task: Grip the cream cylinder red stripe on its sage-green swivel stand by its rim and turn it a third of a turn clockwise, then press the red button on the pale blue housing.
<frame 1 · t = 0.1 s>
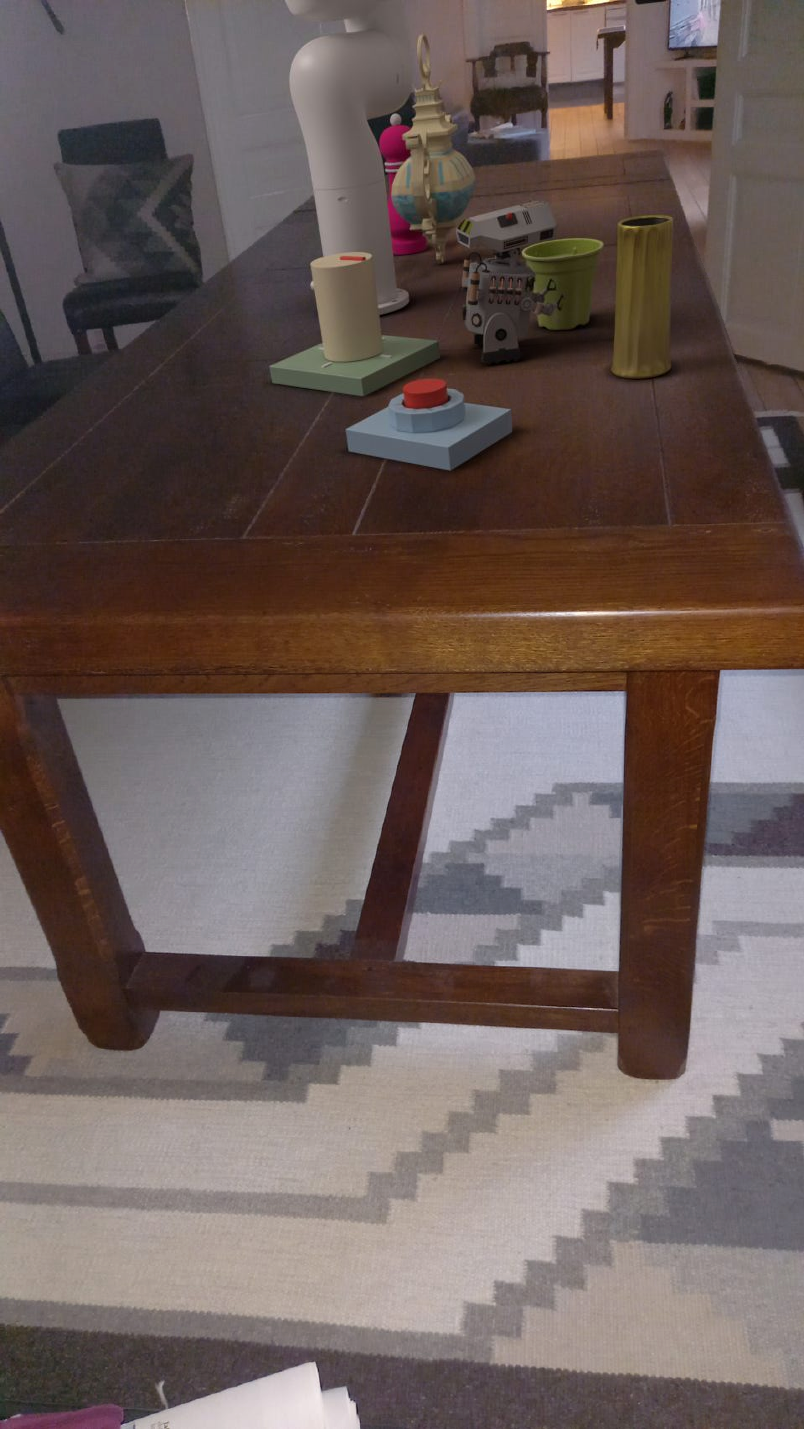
figurine: (514, 352, 113), on the table
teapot: (441, 265, 155), on the table
button box: (430, 442, 93), on the table
swivel stand: (356, 370, 114), on the table
button: (425, 395, 90), point 4 cm above the table, slide at 0.1 cm
cream cylinder red stripe: (347, 306, 110), point 7 cm above the table, hinge at 0.0°
vase: (640, 372, 103), on the table
plant pot: (563, 325, 120), on the table
pepper mill: (409, 252, 166), on the table
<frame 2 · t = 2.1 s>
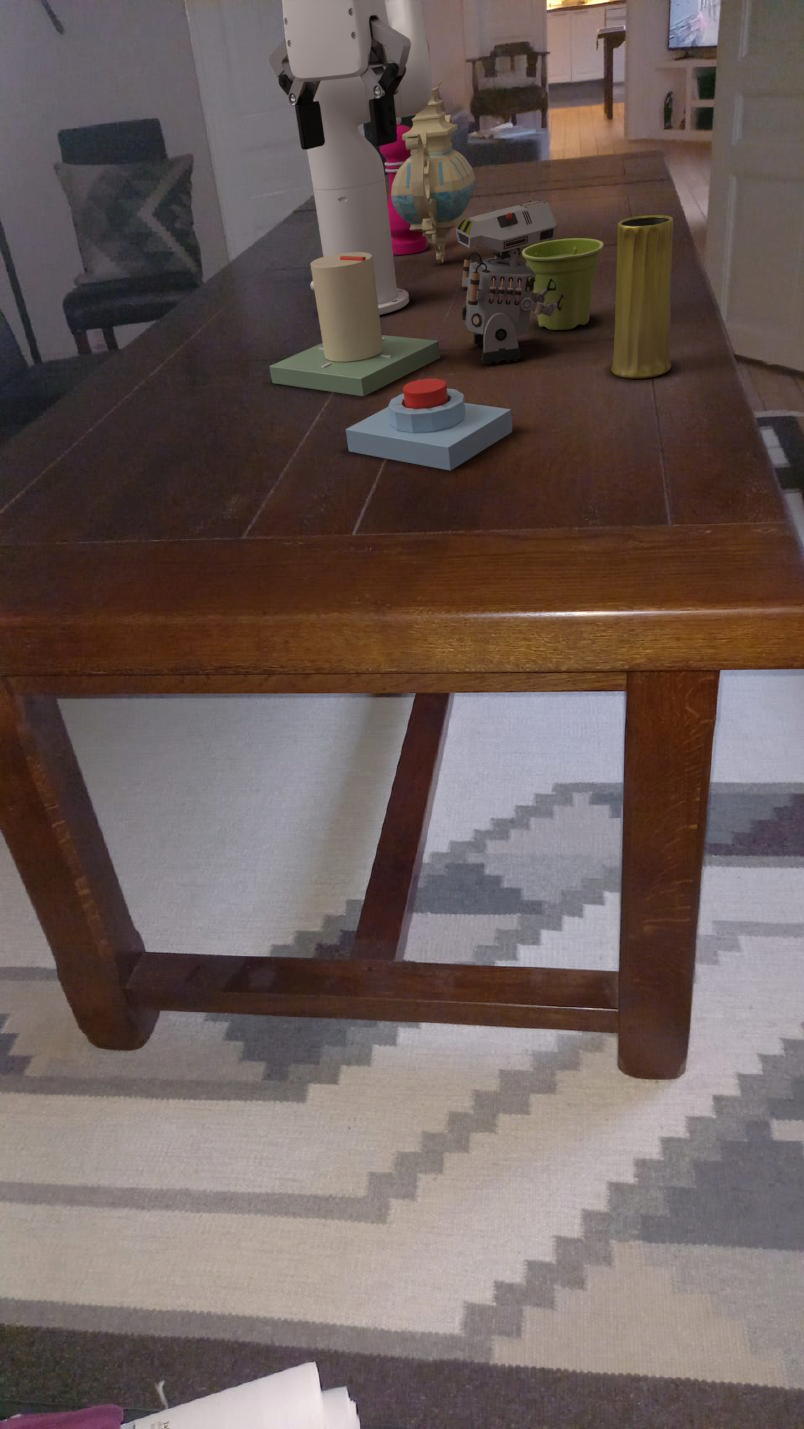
hand: (348, 145, 101), 23 cm above the table, tool pointing down, fingers open, 9 cm apart
nothing on the table moved.
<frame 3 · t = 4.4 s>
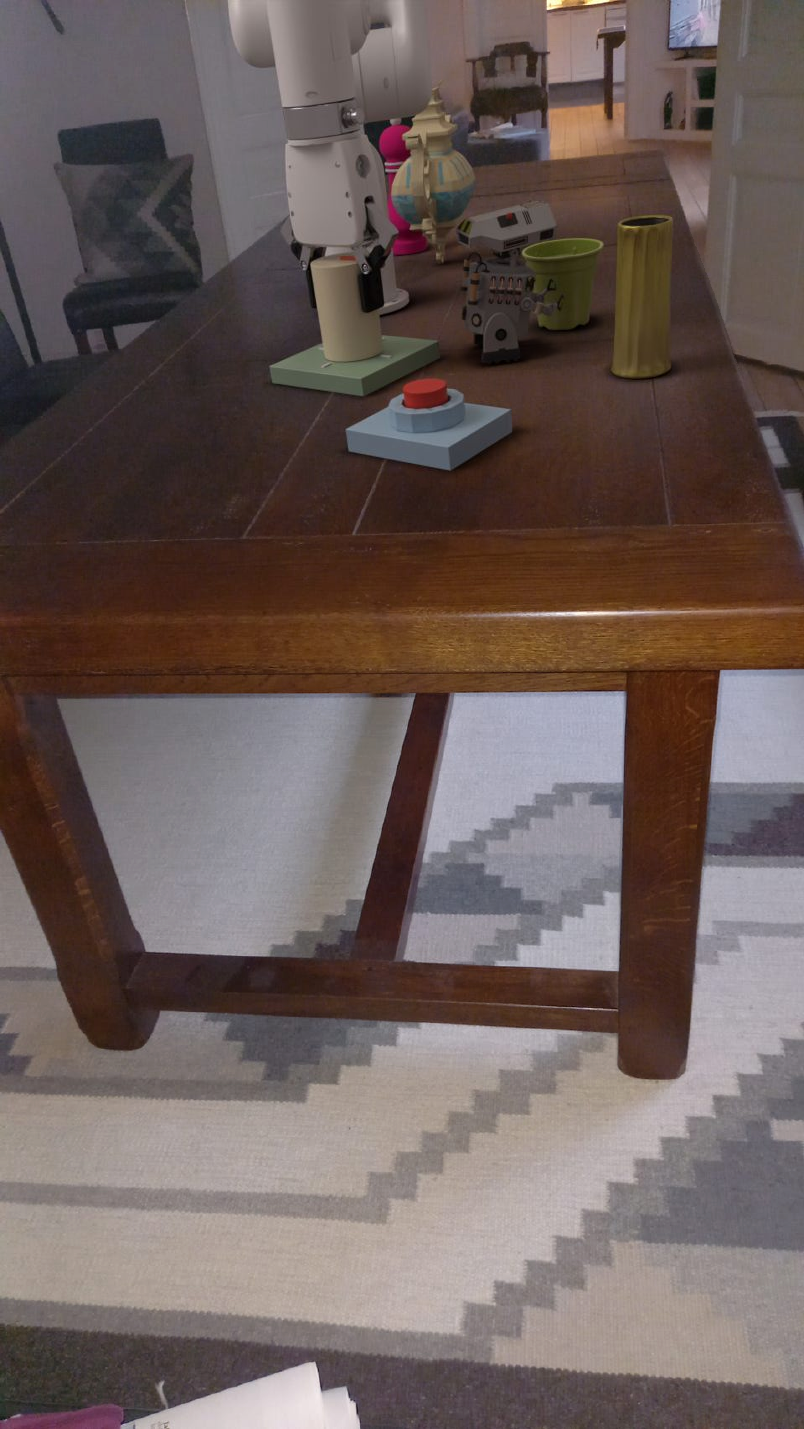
hand: (347, 306, 110), 7 cm above the table, tool pointing down, fingers closed on cream cylinder red stripe, 6 cm apart
cream cylinder red stripe: (347, 306, 110), point 7 cm above the table, hinge at -0.3°, touching gripper
everything else where it was.
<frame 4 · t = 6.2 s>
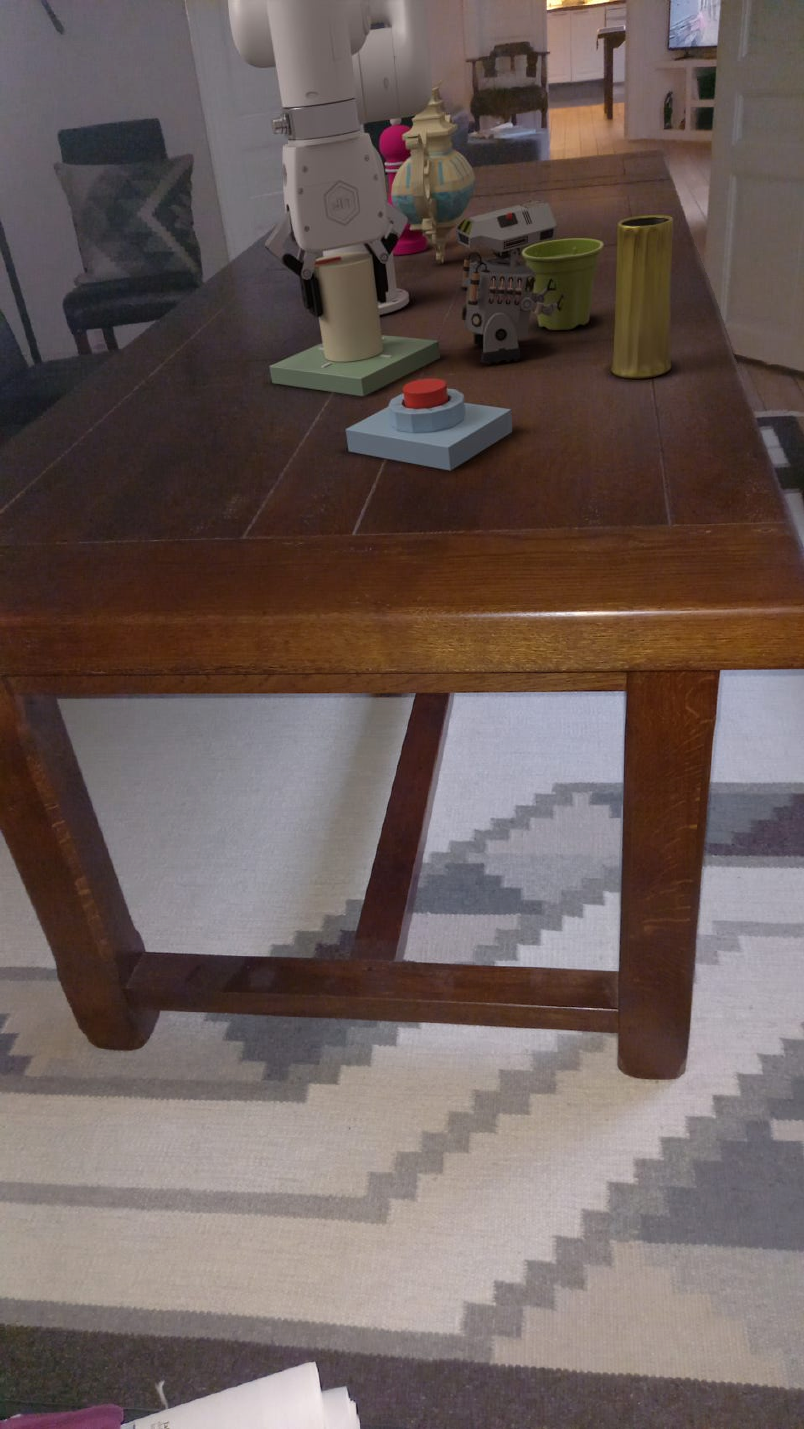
hand: (347, 306, 110), 7 cm above the table, tool pointing down, fingers closed on cream cylinder red stripe, 6 cm apart
cream cylinder red stripe: (347, 306, 110), point 7 cm above the table, hinge at -119.9°, touching gripper
everything else where it was.
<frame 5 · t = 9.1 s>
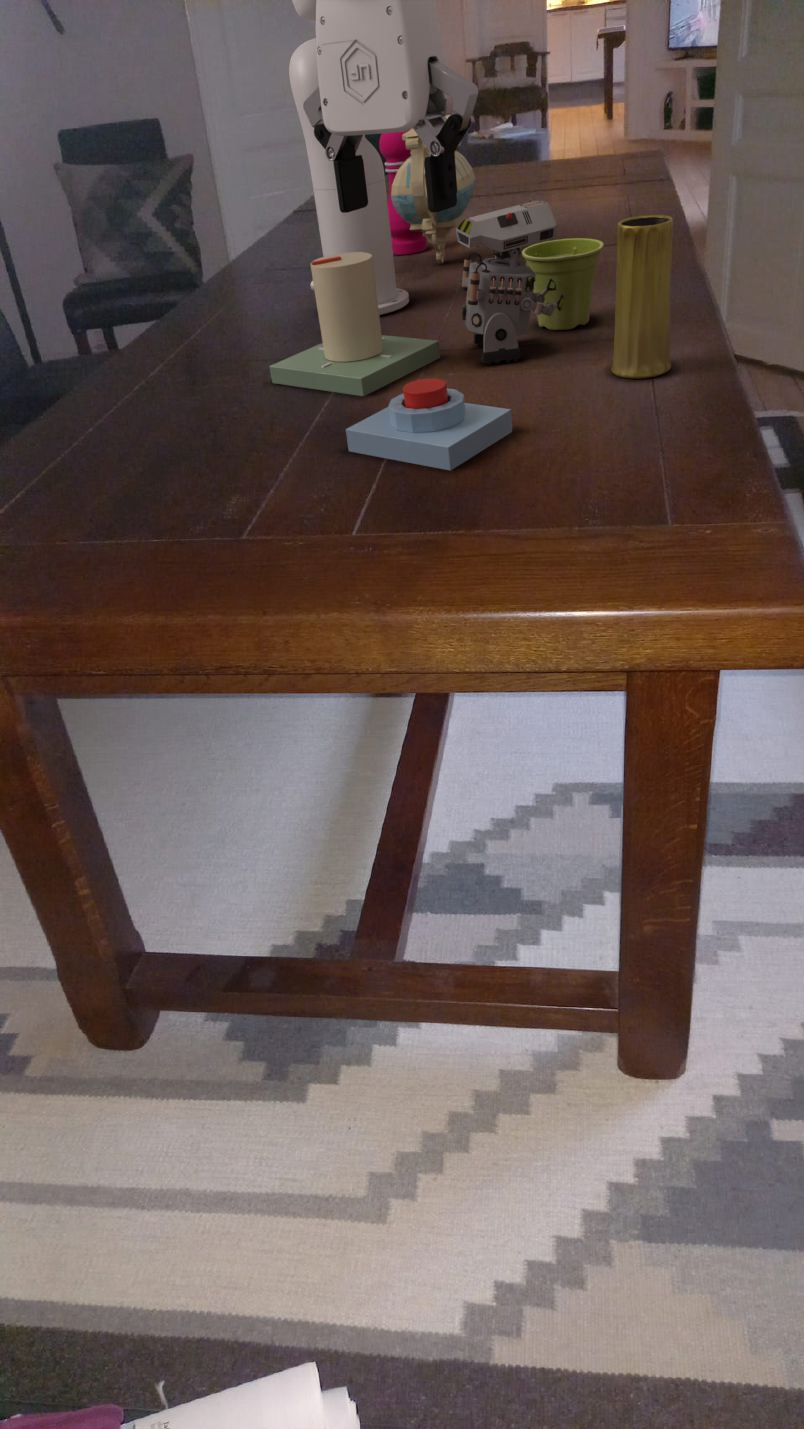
hand: (397, 209, 83), 20 cm above the table, tool pointing down, fingers open, 9 cm apart
cream cylinder red stripe: (347, 306, 110), point 7 cm above the table, hinge at -120.3°
everything else where it was.
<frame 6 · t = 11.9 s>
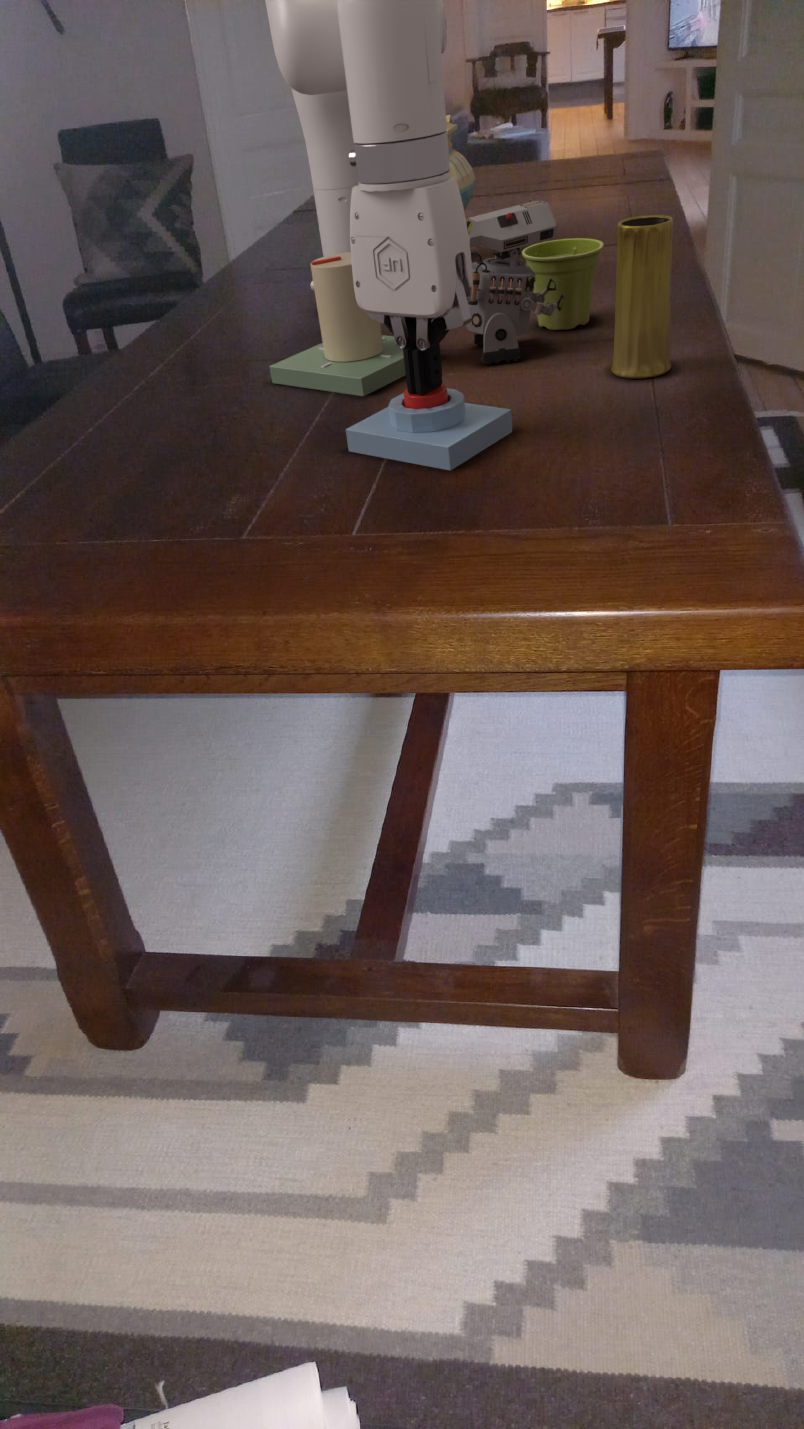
hand: (425, 389, 90), 5 cm above the table, tool pointing down, fingers closed
button: (426, 399, 90), point 4 cm above the table, slide at -0.3 cm, touching gripper
everything else where it was.
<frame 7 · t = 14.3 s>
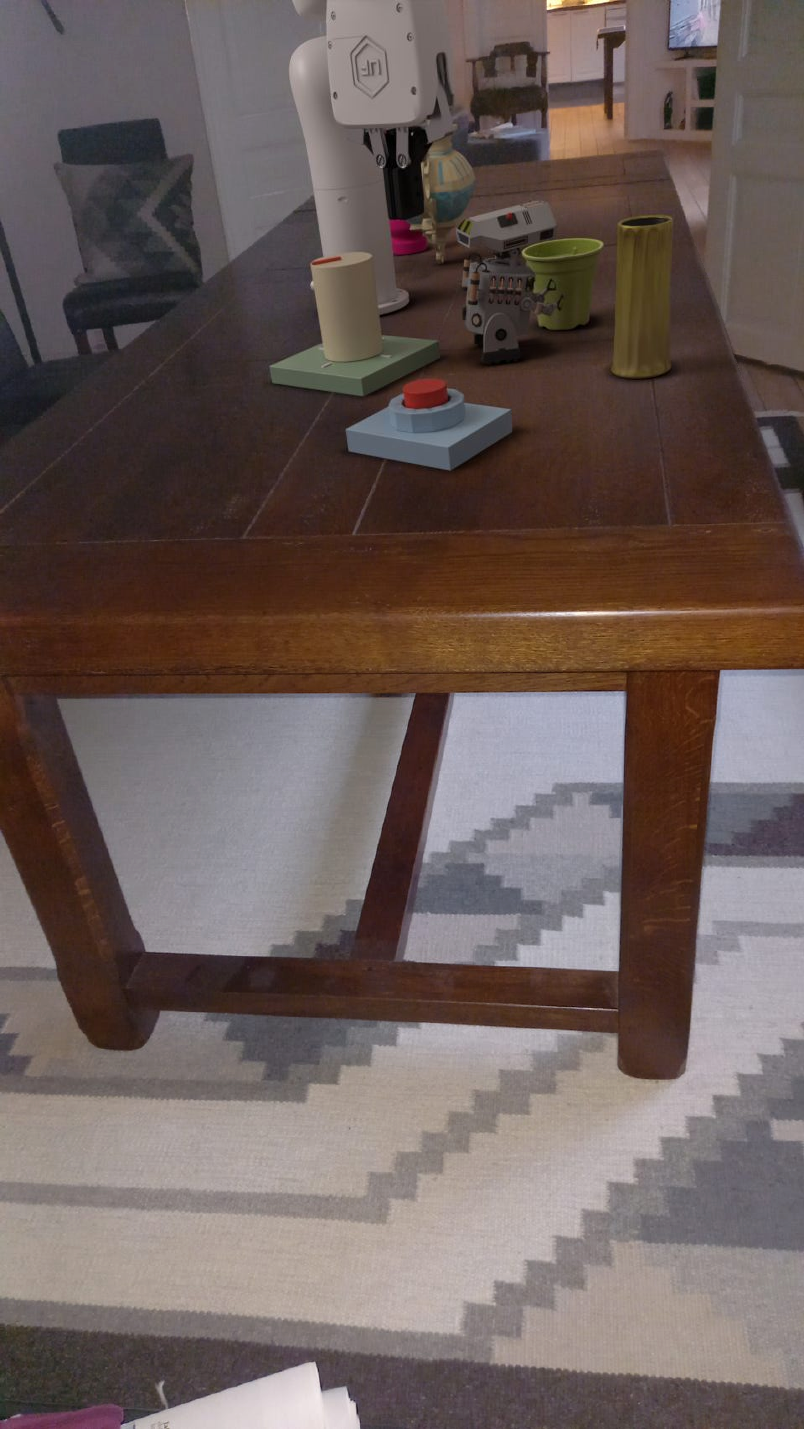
hand: (406, 216, 86), 19 cm above the table, tool pointing down, fingers closed
button: (425, 395, 90), point 4 cm above the table, slide at 0.1 cm
everything else where it was.
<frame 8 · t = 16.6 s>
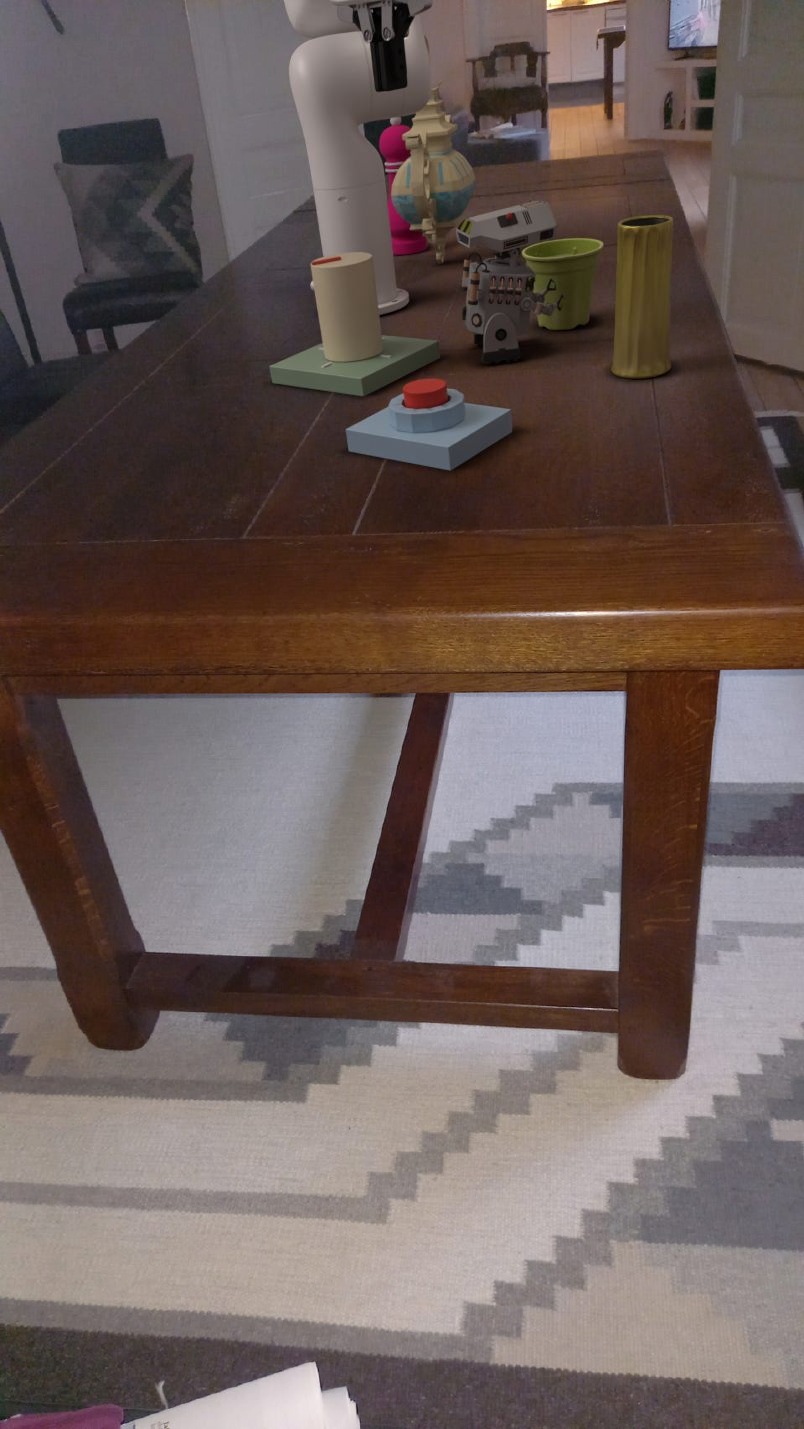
hand: (391, 89, 96), 27 cm above the table, tool pointing down, fingers closed
nothing on the table moved.
at the end: cream cylinder red stripe at -120° (first picture: +0°); button pushed in 1.0 cm at the most during the clip, back to where it started at the end; button slide at 0.1 cm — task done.
